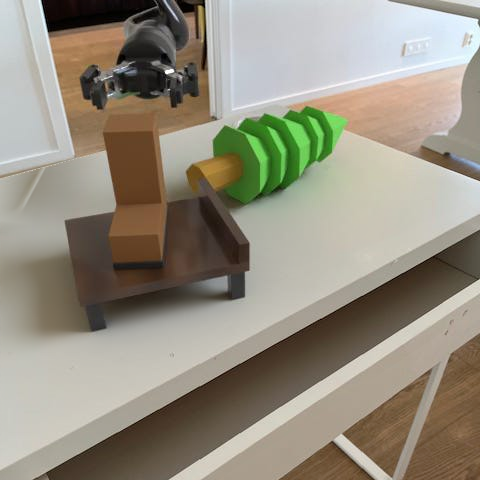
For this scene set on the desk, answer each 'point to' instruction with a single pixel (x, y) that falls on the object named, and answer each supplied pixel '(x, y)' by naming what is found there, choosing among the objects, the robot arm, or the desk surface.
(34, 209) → the desk surface
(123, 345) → the desk surface
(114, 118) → the boot
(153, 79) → the robot arm
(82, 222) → the shoe shelf
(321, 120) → the decorative tree
